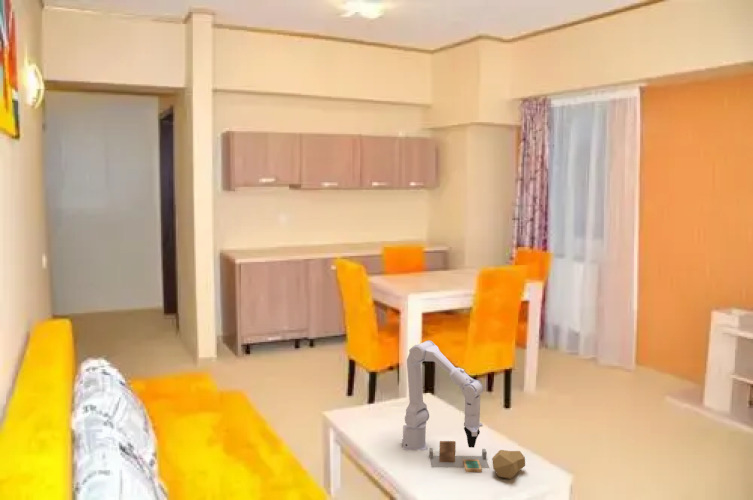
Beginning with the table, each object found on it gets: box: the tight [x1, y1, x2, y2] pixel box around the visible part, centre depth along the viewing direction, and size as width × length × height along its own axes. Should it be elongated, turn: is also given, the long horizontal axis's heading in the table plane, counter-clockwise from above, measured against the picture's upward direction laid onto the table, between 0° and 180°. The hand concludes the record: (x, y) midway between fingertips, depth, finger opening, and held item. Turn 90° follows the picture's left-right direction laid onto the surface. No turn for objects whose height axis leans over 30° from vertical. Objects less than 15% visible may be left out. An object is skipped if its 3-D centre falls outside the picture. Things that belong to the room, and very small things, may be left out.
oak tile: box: [463, 459, 483, 473], centre depth 246 cm, size 6×1×8 cm
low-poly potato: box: [492, 449, 526, 480], centre depth 240 cm, size 15×11×12 cm
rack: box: [428, 447, 490, 469], centre depth 251 cm, size 22×10×4 cm, turn 90°
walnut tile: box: [438, 440, 457, 462], centre depth 251 cm, size 6×1×8 cm, turn 90°
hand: (471, 446), depth 249 cm, fingers closed
